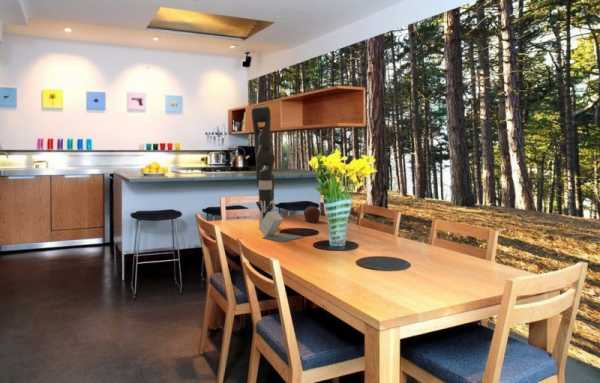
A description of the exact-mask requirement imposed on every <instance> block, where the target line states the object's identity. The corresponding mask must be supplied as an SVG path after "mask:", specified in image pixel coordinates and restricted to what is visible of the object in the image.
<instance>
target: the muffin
mask: <svg viewBox="0 0 600 383" xmlns="http://www.w3.org/2000/svg"><path fill="white" fill-rule="evenodd" d="M303 214H304V222H306V223H311V224H312V223H315V224H316V223H318V222H319V221H320V215H321V210H320V209H319V208H318V207H316V206H307V207H306V208H305V209H304V211H303Z"/></svg>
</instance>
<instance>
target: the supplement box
mask: <svg viewBox="0 0 600 383" xmlns="http://www.w3.org/2000/svg"><path fill="white" fill-rule="evenodd" d="M283 221H284V218H283V217H282V215H281V214H280V213H279V212H278V211H277V210H274V211H271V212H267V214H266V216H265V217H264V219H263V221H262V223H261V225H260V226H259V225H258V230H259V231H260V232H261V233H262V235H263V236H264V237H267V236H272V235H276V233H277V231H278V229H279V227H280V226H281V224H282V222H283Z"/></svg>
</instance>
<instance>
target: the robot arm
mask: <svg viewBox="0 0 600 383" xmlns="http://www.w3.org/2000/svg"><path fill="white" fill-rule="evenodd" d="M271 114H272V113H271V109H270V107H269V106H254V107H252V108H251V121H252V129H253V139H254V140H253V141H254V142H253V143H254V155H255V165H256V167H255V168H256V187H257V188H258V201H256V203H255V204H256V206H257V208H258V214H259V215H258V221H259V222H258V227H259V226H260V225H261V223H262V221H263V219H264V217H265V216H266V214H267V212H271V211H275V210H274V209H275V203H274V202H275V200H274V199H275V198H274V197H275V175H274V174H273V168H274V164H275V161H276V159H275V158H276V156H275V154H274V153H272V152H271V120H272V118H271V117H272V116H271ZM260 123H265V124H264V126H263V127H262V129H261V128H260V126H259V124H260ZM264 166H267V168H264Z"/></svg>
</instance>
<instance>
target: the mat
mask: <svg viewBox="0 0 600 383" xmlns="http://www.w3.org/2000/svg"><path fill="white" fill-rule="evenodd" d="M302 238H304V236H303V235H297V234H290V233H284V232H282V233H278V234H275V235H272V236H267V237H265V236H264V237H262V239H264V240H268V241H275V242H280V243H285V242H286V243H287V242H291V241H294V240H299V239H302Z"/></svg>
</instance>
